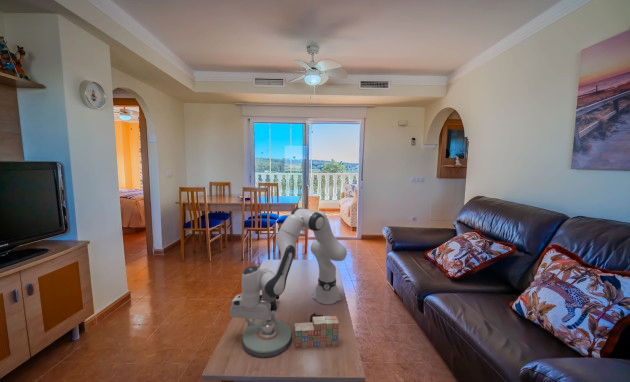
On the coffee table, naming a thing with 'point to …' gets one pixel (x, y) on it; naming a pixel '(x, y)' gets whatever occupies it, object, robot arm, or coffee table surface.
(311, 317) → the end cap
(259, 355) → the turntable base
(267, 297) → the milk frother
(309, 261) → the coffee table surface
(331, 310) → the coffee table surface
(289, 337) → the turntable
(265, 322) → the cover
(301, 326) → the stack of blocks
